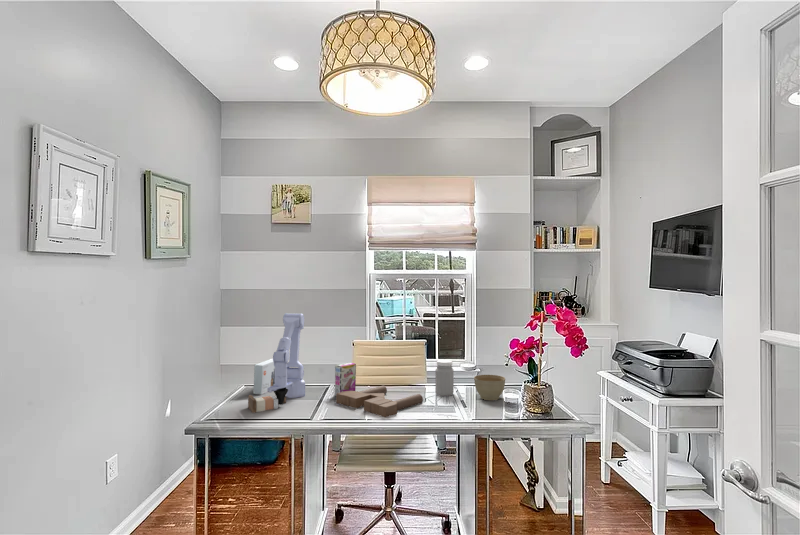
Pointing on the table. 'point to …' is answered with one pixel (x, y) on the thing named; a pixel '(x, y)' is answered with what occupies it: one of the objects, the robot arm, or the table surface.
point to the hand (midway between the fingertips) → (280, 404)
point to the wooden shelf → (253, 403)
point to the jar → (444, 378)
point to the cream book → (260, 404)
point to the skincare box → (263, 376)
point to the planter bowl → (489, 386)
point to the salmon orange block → (268, 402)
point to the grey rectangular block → (275, 402)
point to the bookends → (376, 401)
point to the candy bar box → (345, 377)
